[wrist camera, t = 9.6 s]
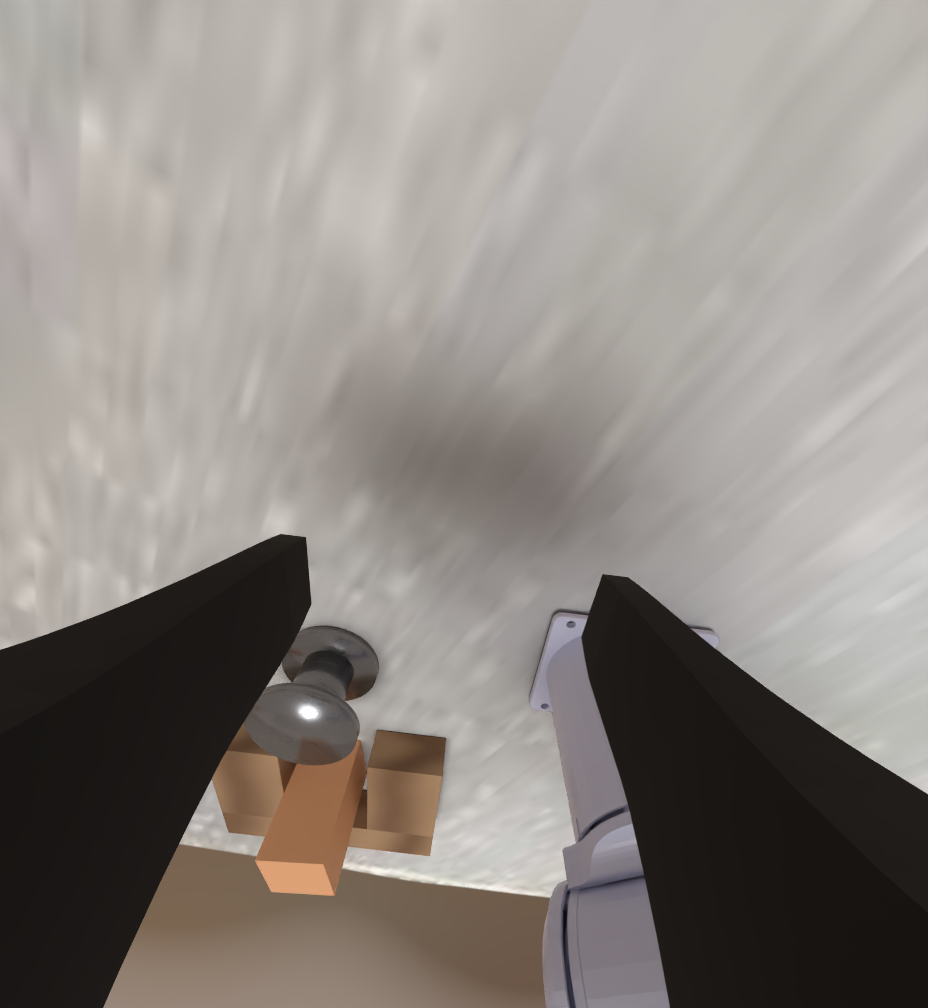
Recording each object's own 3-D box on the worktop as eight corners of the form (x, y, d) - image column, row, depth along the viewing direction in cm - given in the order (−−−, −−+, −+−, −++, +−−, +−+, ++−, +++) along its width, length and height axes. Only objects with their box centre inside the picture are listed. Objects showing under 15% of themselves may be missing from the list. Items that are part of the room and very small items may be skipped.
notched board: (445, 738, 27) (442, 776, 24) (433, 818, 31) (429, 856, 29) (225, 711, 26) (201, 747, 24) (247, 796, 31) (228, 832, 29)
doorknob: (379, 632, 22) (355, 701, 18) (377, 698, 25) (357, 771, 21) (281, 620, 22) (235, 686, 18) (290, 687, 25) (252, 758, 21)
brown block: (360, 740, 27) (323, 864, 21) (366, 772, 29) (334, 895, 23) (307, 738, 27) (255, 860, 21) (317, 770, 29) (271, 891, 23)
